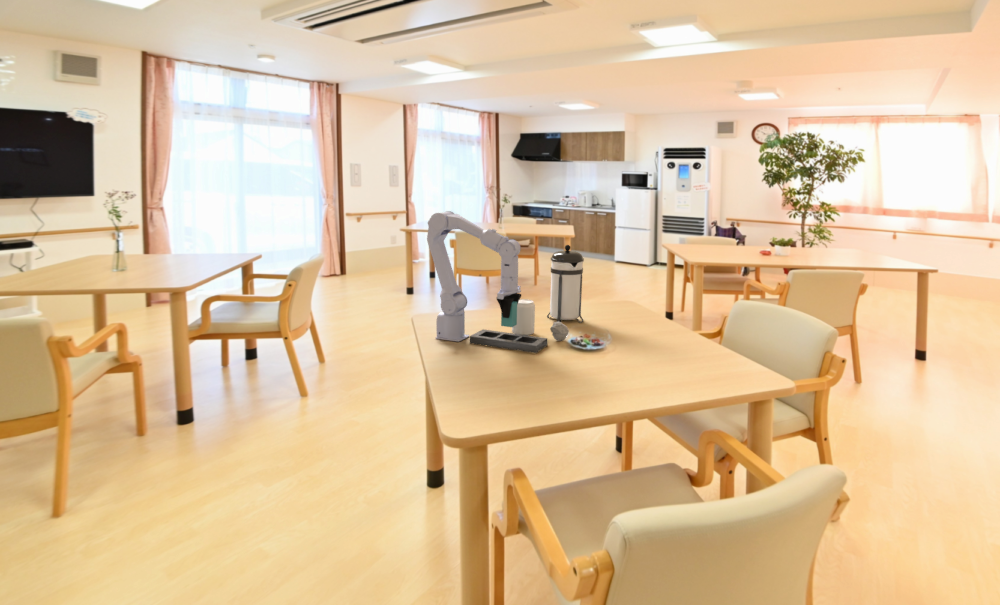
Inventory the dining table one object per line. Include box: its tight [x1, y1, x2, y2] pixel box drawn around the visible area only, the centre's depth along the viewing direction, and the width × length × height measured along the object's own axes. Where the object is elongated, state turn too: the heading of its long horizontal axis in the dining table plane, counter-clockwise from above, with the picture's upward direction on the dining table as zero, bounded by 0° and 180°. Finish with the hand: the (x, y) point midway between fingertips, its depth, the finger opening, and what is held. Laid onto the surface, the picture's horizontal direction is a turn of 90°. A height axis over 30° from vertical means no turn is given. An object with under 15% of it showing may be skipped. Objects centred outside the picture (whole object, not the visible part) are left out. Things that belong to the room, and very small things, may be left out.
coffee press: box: [546, 244, 585, 324], centre depth 235 cm, size 17×16×30 cm
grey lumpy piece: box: [550, 321, 570, 342], centre depth 209 cm, size 6×7×7 cm
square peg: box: [500, 301, 517, 328], centre depth 202 cm, size 4×4×8 cm
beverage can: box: [511, 298, 536, 336], centre depth 217 cm, size 8×8×12 cm
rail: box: [469, 328, 548, 354], centre depth 204 cm, size 24×10×2 cm, turn 65°
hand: (508, 316), depth 203 cm, fingers closed on square peg, 4 cm apart
